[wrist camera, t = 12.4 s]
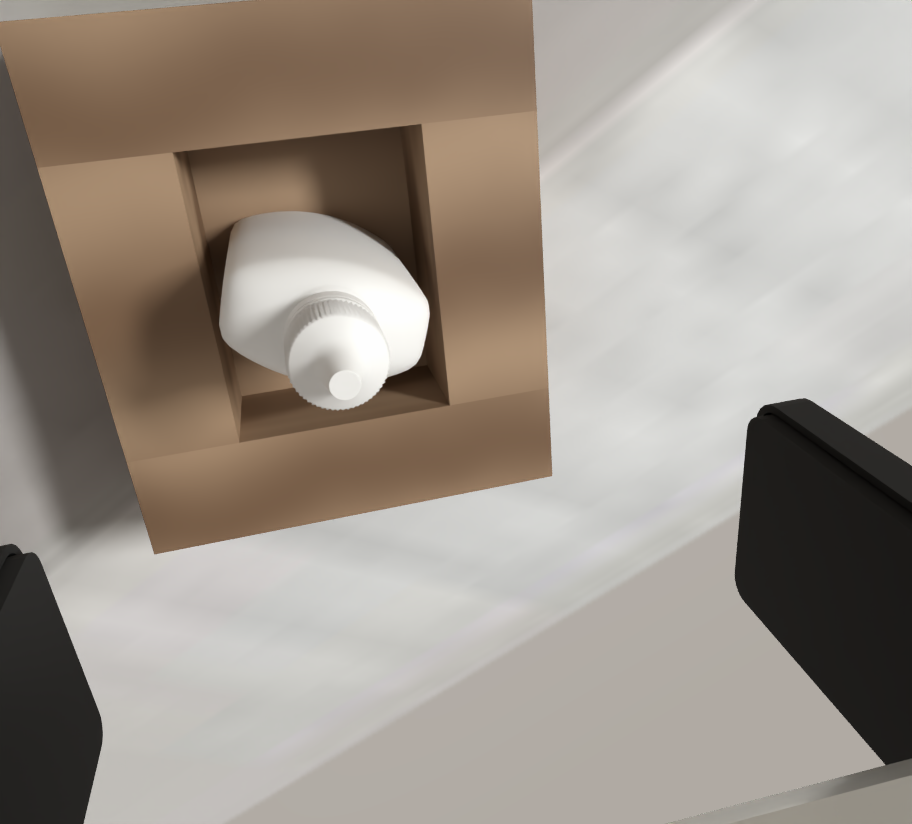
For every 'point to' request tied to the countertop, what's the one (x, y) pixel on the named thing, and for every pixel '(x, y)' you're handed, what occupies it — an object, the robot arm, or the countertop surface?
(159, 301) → the box
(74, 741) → the robot arm
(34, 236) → the countertop surface
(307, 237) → the eye dropper bottle
